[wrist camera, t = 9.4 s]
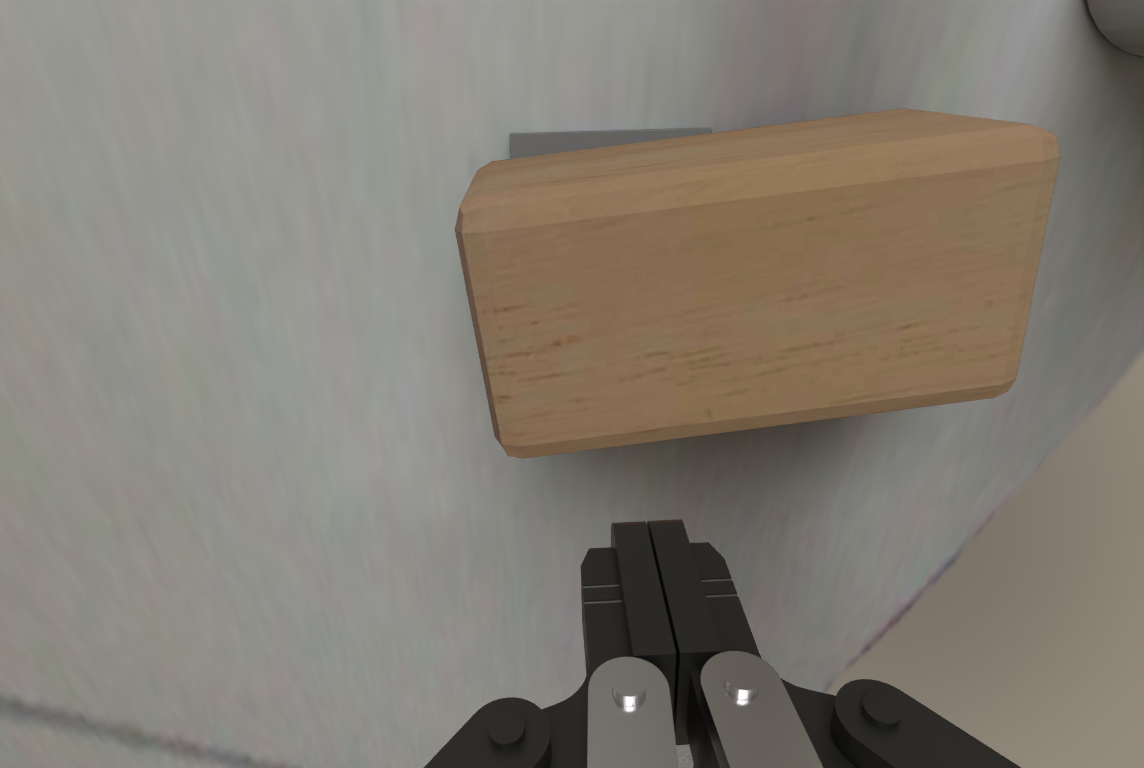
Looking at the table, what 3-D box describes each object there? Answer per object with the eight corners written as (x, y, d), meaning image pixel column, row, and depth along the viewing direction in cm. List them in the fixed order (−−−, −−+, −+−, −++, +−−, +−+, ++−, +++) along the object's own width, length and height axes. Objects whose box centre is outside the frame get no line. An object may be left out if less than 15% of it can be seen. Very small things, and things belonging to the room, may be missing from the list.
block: (506, 364, 34) (894, 314, 34) (497, 472, 25) (1023, 404, 25) (471, 161, 30) (916, 104, 30) (445, 204, 21) (1082, 122, 21)
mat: (708, 127, 30) (712, 128, 30) (692, 385, 36) (695, 390, 35) (510, 133, 30) (509, 134, 29) (525, 392, 36) (525, 397, 35)
